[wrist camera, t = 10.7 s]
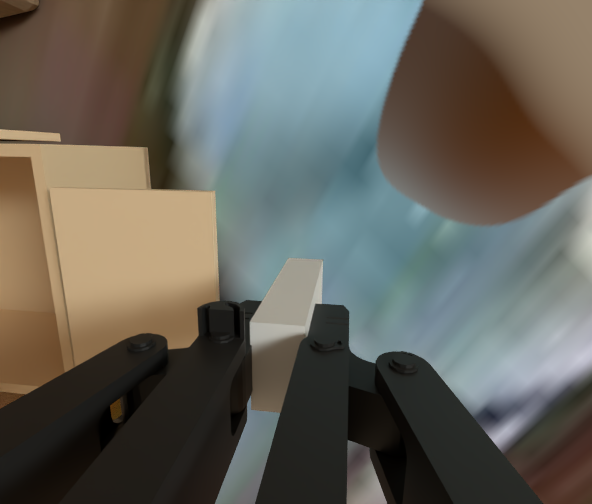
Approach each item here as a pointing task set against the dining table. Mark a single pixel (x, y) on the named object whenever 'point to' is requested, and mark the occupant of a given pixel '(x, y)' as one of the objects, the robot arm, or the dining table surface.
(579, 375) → the dining table surface
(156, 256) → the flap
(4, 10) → the wooden block
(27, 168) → the carton
